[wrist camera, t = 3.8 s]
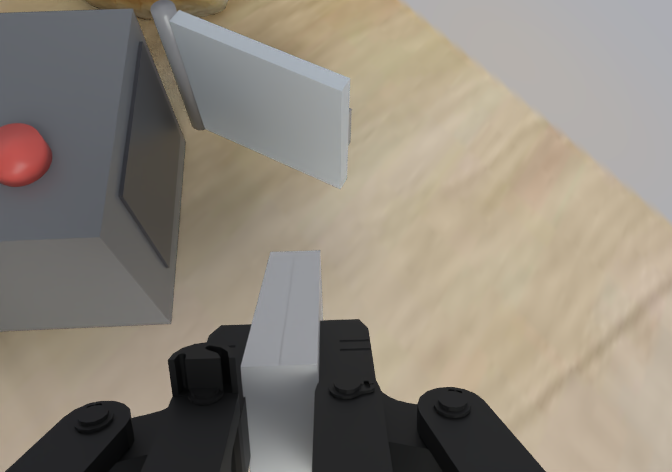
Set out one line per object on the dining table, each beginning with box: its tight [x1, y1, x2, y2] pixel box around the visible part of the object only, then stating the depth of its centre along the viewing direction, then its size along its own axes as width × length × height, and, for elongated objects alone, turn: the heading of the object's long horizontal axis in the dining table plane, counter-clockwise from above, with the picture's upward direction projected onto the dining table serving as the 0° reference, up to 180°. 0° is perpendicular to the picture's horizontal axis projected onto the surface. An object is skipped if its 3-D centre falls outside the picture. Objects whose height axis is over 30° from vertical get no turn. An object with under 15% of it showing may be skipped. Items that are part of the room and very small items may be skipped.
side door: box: [150, 0, 352, 189], centre depth 26 cm, size 1×9×8 cm, turn 62°
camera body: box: [0, 9, 186, 331], centre depth 25 cm, size 10×12×10 cm
